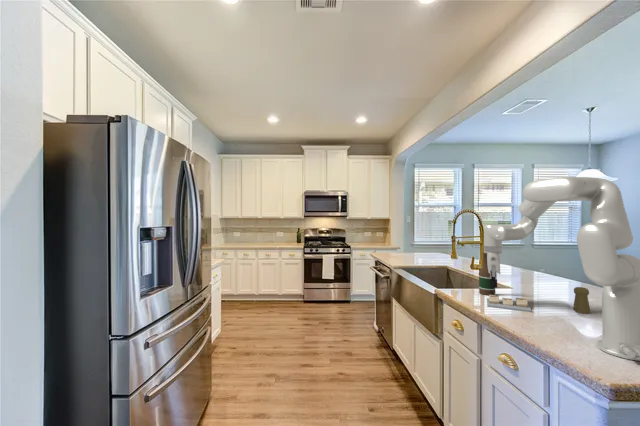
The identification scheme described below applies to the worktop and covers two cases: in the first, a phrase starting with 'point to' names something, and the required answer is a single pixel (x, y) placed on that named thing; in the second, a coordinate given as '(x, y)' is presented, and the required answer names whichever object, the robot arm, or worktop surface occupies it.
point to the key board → (514, 307)
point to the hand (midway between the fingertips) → (493, 286)
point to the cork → (581, 300)
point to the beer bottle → (485, 279)
